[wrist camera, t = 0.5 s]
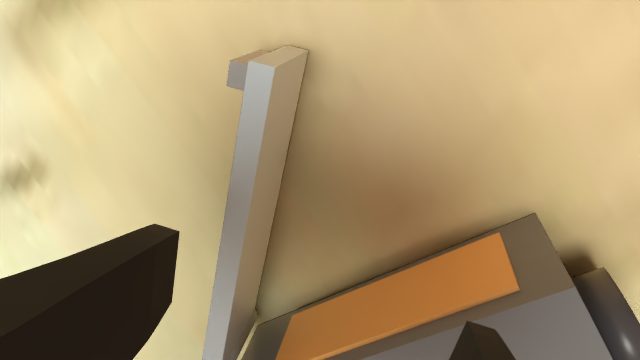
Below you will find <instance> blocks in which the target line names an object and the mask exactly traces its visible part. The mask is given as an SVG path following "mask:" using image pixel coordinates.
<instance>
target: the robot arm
mask: <svg viewBox="0 0 640 360" xmlns="http://www.w3.org/2000/svg"><path fill="white" fill-rule="evenodd" d="M179 232H180V231H176V230H173V229H170V228H167V227H164V226H160V225H157V224H153V225H149V226H146V227H144V228H141V229H138V230H135V231H133V232H130V233H128V234H125V235H122V236H120V237H117V238H115V239H112V240H110V241H107V242H105V243H102V244H99V245H97V246H94V247H91V248H89V249H86V250H84V251H81V252H78V253H76V254H73V255H70V256H68V257H65V258H62V259H59V260H56V261H53V262H50V263H47V264H44V265H41V266H38V267H35V268H32V269H29V270H26V271H24V272H21V273H18V274H15V275H12V276H8V277H5V278H2V279H0V360H133V358H134V357H135V356H136V355H137V353H138V352H139V351H140V350H141V348H142V347H143V346H144V345H145V343H146V342H147V341H148V339H149V338H150V336H151V335H152V333H153V332H154V330H155V329H156V327H157V325H158V324H159V322H160V321H161V319H162V317H163V316H164V314H165V312H166V311H167V309H168V307H169V306H170V304H171V303H172V295H173V286H174V277H175V268H176V259H177V250H178V241H179ZM449 360H516V359H515V357H514V356H513V354H512V353H511V351H510V350H509V348H508V347H507V345H506V344H505V342H504V341H503V339H502V338H501V336H500V335H499V334H498V332H497V331H496V329H493V328H489V327H486V326H483V325H480V324H477V323H473V322H470V321H466V324H465V326H464V328H463V330H462V332H461V335H460V337H459V339H458V341H457V343H456V345H455V348H454V350H453V352H452V354H451V356H450V358H449Z"/></svg>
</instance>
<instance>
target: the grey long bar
mask: <svg viewBox="0 0 640 360" xmlns="http://www.w3.org/2000/svg"><path fill="white" fill-rule="evenodd" d="M307 54H308V50H305V49H301V48H297V47H293V46H290V45H287V46H284V47H282V48H279V49H277V50H274V51H272V52H267V51H263V50H259V51H256V52H253V53H250V54H247V55H245V56H242V57H239V58H236V59H233V60H230V66H229V73H228V80H227V86H229V87H232V88H236V89H240V90H243V91H244V94H243V100H242V107H241V113H240V120H239V126H238V133H237V139H236V145H235V152H234V158H233V165H232V171H231V178H230V184H229V190H228V197H227V203H226V210H225V216H224V223H223V229H222V235H221V242H220V248H219V255H218V261H217V268H216V274H215V280H214V287H213V293H212V300H211V306H210V312H209V319H208V325H207V332H206V338H205V345H204V351H203V357H202V360H236V359H237V357H238V355H239V353H240V351H241V349H242V347H243V345H244V343H245V341H246V339H247V337H248V335H249V333H250V331H251V329H252V327H253V325H254V323H255V321H256V319H257V312H256V310H255V305H256V300H257V295H258V291H259V286H260V281H261V276H262V271H263V266H264V262H265V257H266V252H267V247H268V242H269V238H270V233H271V228H272V223H273V218H274V213H275V209H276V204H277V199H278V194H279V189H280V185H281V180H282V175H283V170H284V165H285V160H286V156H287V151H288V146H289V141H290V136H291V132H292V127H293V122H294V117H295V112H296V107H297V103H298V98H299V93H300V88H301V83H302V79H303V74H304V69H305V64H306V59H307Z"/></svg>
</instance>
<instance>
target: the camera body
mask: <svg viewBox="0 0 640 360" xmlns="http://www.w3.org/2000/svg"><path fill="white" fill-rule="evenodd" d="M466 321H470V322H473V323H477V324H480V325H483V326H486V327H489V328H493V329H496V331H497V332H498V334H499V335H500V336H501V338H502V339H503V341H504V342H505V344H506V345H507V347H508V348H509V350H510V351H511V353H512V354H513V356H514V357H515V359H516V360H640V324H639V322H638V320H637V318H636V317H635V315H634V313H633V311H632V310H631V308H630V306H629V305H628V303H627V301H626V300H625V298H624V296H623V295H622V293H621V291H620V290H619V288H618V287H617V285H616V284H615V282H614V281H613V279H612V278H611V276H610V275H609V273H608V272H607V271H606V270H605V268H603V267H602V268H599V269H596V270H593V271H590V272H587V273H584V274H582V275H579V276H576V277H573V278H570V276H569V274H568V272H567V270H566V268H565V267H564V265H563V263H562V261H561V259H560V257H559V256H558V254H557V252H556V250H555V248H554V246H553V245H552V243H551V241H550V239H549V237H548V235H547V234H546V232H545V230H544V228H543V226H542V224H541V222H540V221H539V219H538V217H537V215H536V213H534V214H531V215H529V216H526V217H524V218H521V219H519V220H517V221H514V222H512V223H509V224H507V225H504V226H502V227H499V228H497V229H494V230H492V231H489V232H487V233H485V234H482V235H480V236H477V237H475V238H472V239H470V240H467V241H465V242H462V243H460V244H458V245H455V246H453V247H450V248H448V249H445V250H443V251H440V252H438V253H435V254H433V255H430V256H428V257H426V258H423V259H421V260H418V261H416V262H413V263H411V264H408V265H406V266H403V267H401V268H398V269H396V270H394V271H391V272H389V273H386V274H384V275H381V276H379V277H376V278H374V279H371V280H369V281H366V282H364V283H362V284H359V285H357V286H354V287H352V288H349V289H347V290H344V291H342V292H339V293H337V294H334V295H332V296H330V297H327V298H325V299H322V300H320V301H317V302H315V303H312V304H310V305H307V306H305V307H302V308H300V309H298V310H295V311H293V312H290V313H288V314H285V315H283V316H280V317H278V318H275V319H273V320H270V321H268V322H266V323H263V324H261V325H258V326H257V328H256V330H255V332H254V335H253V337H252V339H251V341H250V343H249V345H248V347H247V349H246V351H245V353H244V355H243V357H242V360H449V358H450V356H451V354H452V352H453V350H454V348H455V345H456V343H457V341H458V339H459V337H460V335H461V332H462V330H463V328H464V326H465V324H466Z"/></svg>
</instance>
